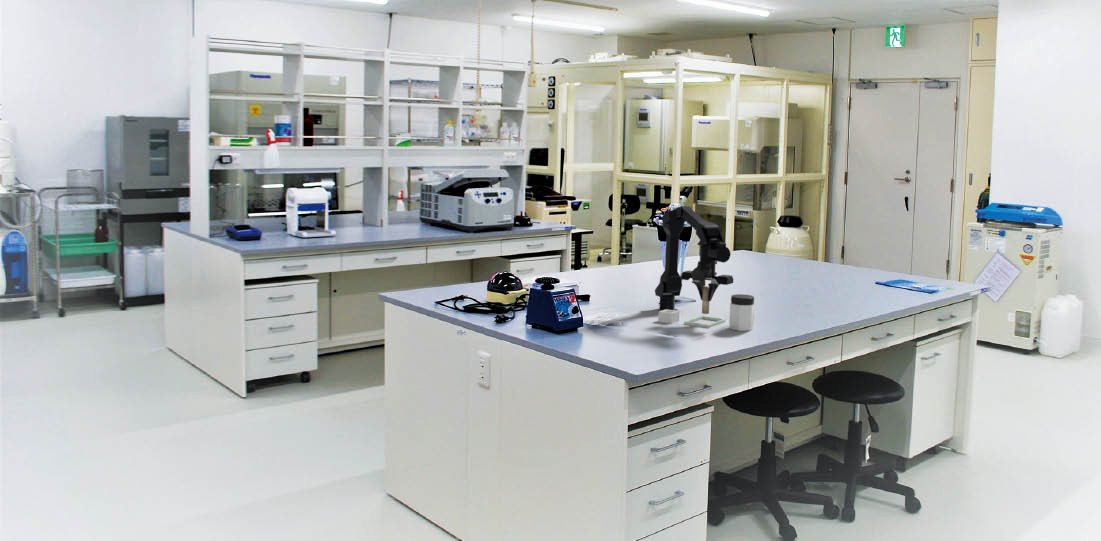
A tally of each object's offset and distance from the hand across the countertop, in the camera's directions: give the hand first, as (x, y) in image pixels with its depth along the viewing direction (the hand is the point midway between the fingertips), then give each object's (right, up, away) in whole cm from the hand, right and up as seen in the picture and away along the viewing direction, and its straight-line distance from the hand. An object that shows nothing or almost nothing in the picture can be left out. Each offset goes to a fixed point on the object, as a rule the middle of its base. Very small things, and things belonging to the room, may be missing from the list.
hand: (705, 300), depth 328 cm
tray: (0, -9, +1) cm, 9 cm away
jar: (+12, -10, -4) cm, 16 cm away
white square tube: (-13, -9, +4) cm, 16 cm away
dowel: (0, -5, +1) cm, 5 cm away
